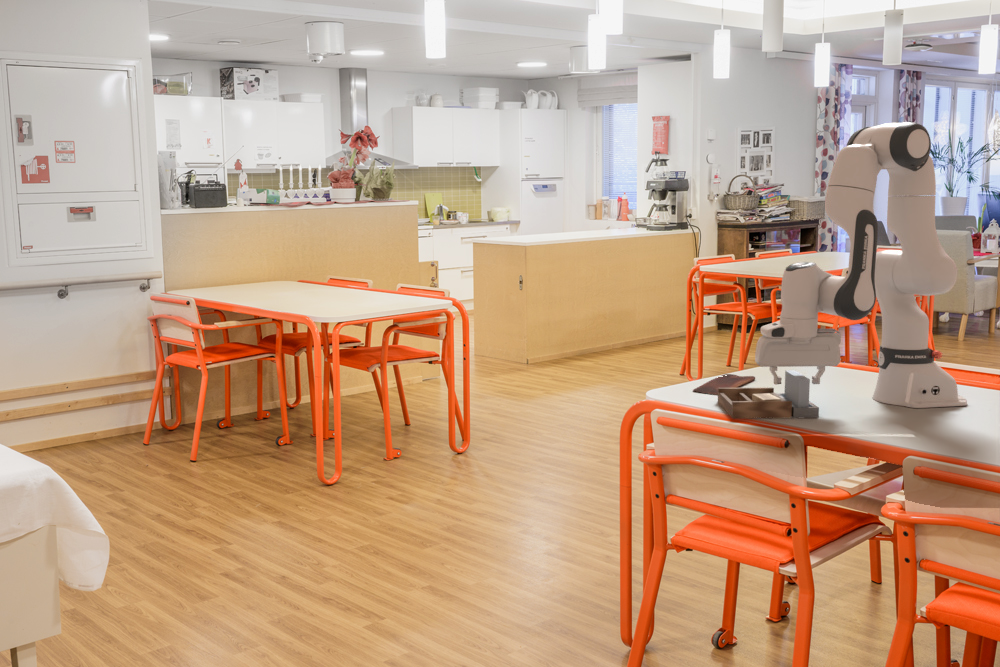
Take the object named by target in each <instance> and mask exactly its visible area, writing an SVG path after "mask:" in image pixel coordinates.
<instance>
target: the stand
mask: <svg viewBox="0 0 1000 667" xmlns="http://www.w3.org/2000/svg"><path fill="white" fill-rule="evenodd" d="M775 393H776V394H777V395H778V396H779V397H781V398H782V399H783V400H785V401H788V400H787V399H786V398H784V394H785V392H779V393H778V392H775ZM819 412H820V407H819V406H817V405H816V404H815V403H813V402H811V401H810V400H809V407H796V406H795V405H793V404H792V413H791V418H793V419H819V415H820V414H819Z"/></svg>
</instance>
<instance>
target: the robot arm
mask: <svg viewBox="0 0 1000 667" xmlns="http://www.w3.org/2000/svg"><path fill="white" fill-rule="evenodd" d="M929 133H930V132H929V131H928V130H927V128H926V127H925V126H924V125H922V124H920V123H916V122H912V121H911V122H910V121H905V122H888V123H883V124H879V125H875V126H874V125H873V126H867V127H863V128H860V129H858V130H856V131H854V133H852V134H851V136H850V137H849V139H848V141H847V142H846V146H844V147H843V148H841V149H840V150H839V152H838V154H837V156H836V158H835V161H834V164H833V166H832V169H831V172H830V176H829V178H828V179H829V180H828V184H827V188H826V193H825V198H824V209H825V210H824V211H825V213H826V215H827V216H828V218H829V219H830V220H831V221H832V222H833V223H834V224H836V225H837V226H838V227H840V228H842V230H843V231H845V232H846V234H847V235H848V238H849V243H850V244H849V245H850V247H849V258H848V271H847V274H846V276H841V275H840V276H839V275H834V274H832V273H829V272H827V271H825V270H823V269H821V267H819V265H817V263H815V262H812V261H802V262H796V263H795V262H794V263H791V264H790V265H788V266H786V267H785V269H784V271H783V274H782V279H781V288H780V301H781V311H780V315H779V320H777V321H774V322H771V323H768V324H765V325H762V326H761V327H760V334H761V335H762V336H759V338H758V339H757V342H756V347H755V354H754V355H755V356H754V362H755V363H756V364H757V365H758V366H759V367H761V368H769V372H770V373H771V375H772V377H773V384H774V385H782V377H781V376H778V374H777V371H778V368H779V367H780V368H781V367H785V368H786V367H816V370H817V372H816V374H815V375H812V376H811V379H812V380H811V384H812V385H820V384H821V378H822V376H823V374H824V373H825V372H826V367H837V366H839V364H840V363H841V350H840V349H841V348H840V344H841V343H842V342H841V340H842V334H841V333H840V331H839V330H837V329H835V328H831V327H830V328H818V325H819V323H818V322H819V314H818V313H823V314H827V315H832V316H836V317H837V316H838V317H841V318H844V319H847V320H850V321H860V320H862V319H863V318H866V317H867V316H868V315H869V314H870V313H871V312H872V310H873V309H874V307H875V304H876V300H877V303H878V305H879V309H880V313H881V344H880V346H879V350H878V367H879V370H878V376H877V381H876V384H875V388H874V392H873V394H872V396H871V398H872V400H873V401H876V402H879V403H883V404H886V405H887V404H888V405H893V406H894V405H895V406H901V407H902V406H903V407H907V408H913V409H925V408H928V409H929V408H939V407H940V408H942V407H945V408H946V407H962V406H963V407H964V406H967V405H968V400H967V399H966V398H965V397H963V396H961V395H959V392H958V384H957V382H956V381H957V380H956V379H955V378H954V377H953V376H952V375H951V374H950V373H948V372H947V371H946V370H945V369H943V368H942V367H941V366H940V365H938V364H937V363H936V362H935V359H937V360H940V359H941V358H942V357H943V352H941V351H940V350H937V349H935V350H933V349H932V348H930V347H929V333H930V319H929V316H928V315H927V313H926V312H925V311H923V310H922V309H921V308H920V306H919V305H918V302H917V300H916V297H915V295H917V296H925V297H929V296H930V297H931V296H938V295H939V296H940V295H944V294H946V293H948V292H950V291H951V290H952V289H953V288H954V286H955V285H956V282H957V279H958V274H959V273H958V267H957V264H956V262H955V261H954V259H953V258H951V257H950V256H949V255H948V253H947V252H946V251H945V249H944V248H943V246H942V244H941V242H940V239H939V236H938V234H937V229H936V194H937V192H936V191H937V190H936V189H937V187H936V186H937V185H936V182H937V181H936V173H935V166H934V160H933V159H932V157H931V154H930V153H931V149H932V148H931V147H932V142H931V141H932V140H931V136H930V134H929ZM882 170H886V171H887V173H888V175H889V182H888V191H887V209H886V210H887V211H886V212H887V215H886V226H887V228H888V230H889V231H890V232H891V233H892V234H894V235H895V237H896V238H897V239H898V241H899V244H900V246H901V247H900V248H901V250H899V249H886V250H879V251H877V250H878V249H877V248H878V237H879V236H878V235H879V226H878V224H879V223H878V219H877V216H876V215H875V212H874V197H875V192H876V188H877V180H878V175H879V173H880V172H881V171H882Z"/></svg>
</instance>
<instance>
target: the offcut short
mask: <svg viewBox="0 0 1000 667" xmlns="http://www.w3.org/2000/svg"><path fill="white" fill-rule="evenodd" d="M752 401H781V399H780V398H778V397H776V396H774V395H772V394H770V393H763V394H752Z"/></svg>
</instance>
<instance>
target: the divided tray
mask: <svg viewBox="0 0 1000 667" xmlns="http://www.w3.org/2000/svg"><path fill="white" fill-rule="evenodd" d="M774 389H775V387H737V388H718V395H717V403H718V405H719V406H721V407H722V409H723V410H724V409H725V410H726V411H725V410H724V411H725V412H726V413H727V414H728V415H729V416H730V418H731V419H792V417H791V413H792V402H791V401H785V400H783V399H782V398H781V397H779V396H778V395H777V394H776V393H777V392H774V391H775V390H774ZM763 393H770V394H772V395H774V396H776V397H778V398H780V399H781V401H752V394H763Z"/></svg>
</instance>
